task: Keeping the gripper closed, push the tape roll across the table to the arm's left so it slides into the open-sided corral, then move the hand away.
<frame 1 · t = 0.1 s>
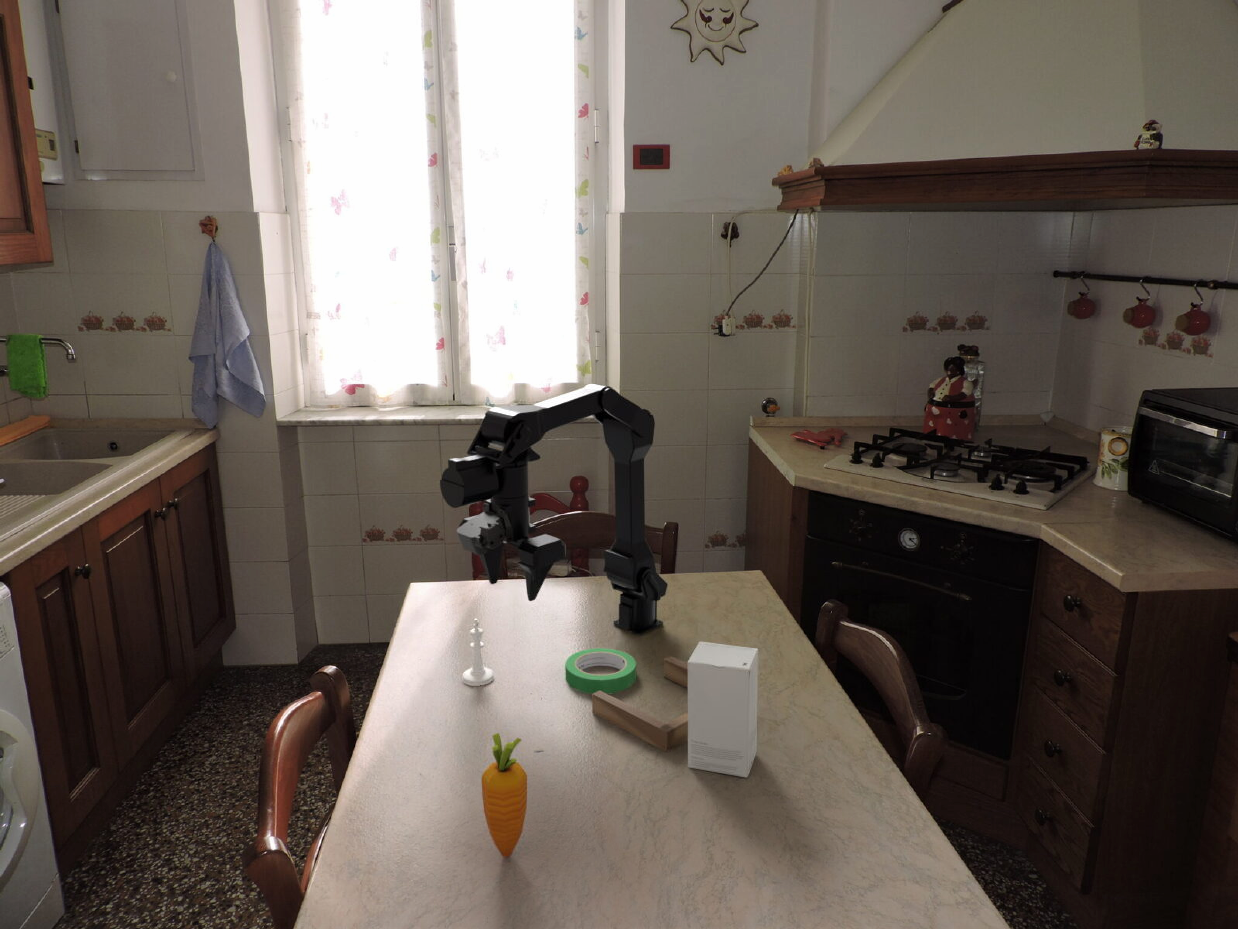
hand: (512, 591, 140), 14 cm above the table, tool pointing down, fingers open, 9 cm apart
carrot: (506, 858, 103), on the table
chess piece: (478, 679, 143), on the table
skincare box: (720, 763, 122), on the table
tape roll: (600, 679, 144), on the table
corral: (664, 708, 135), on the table
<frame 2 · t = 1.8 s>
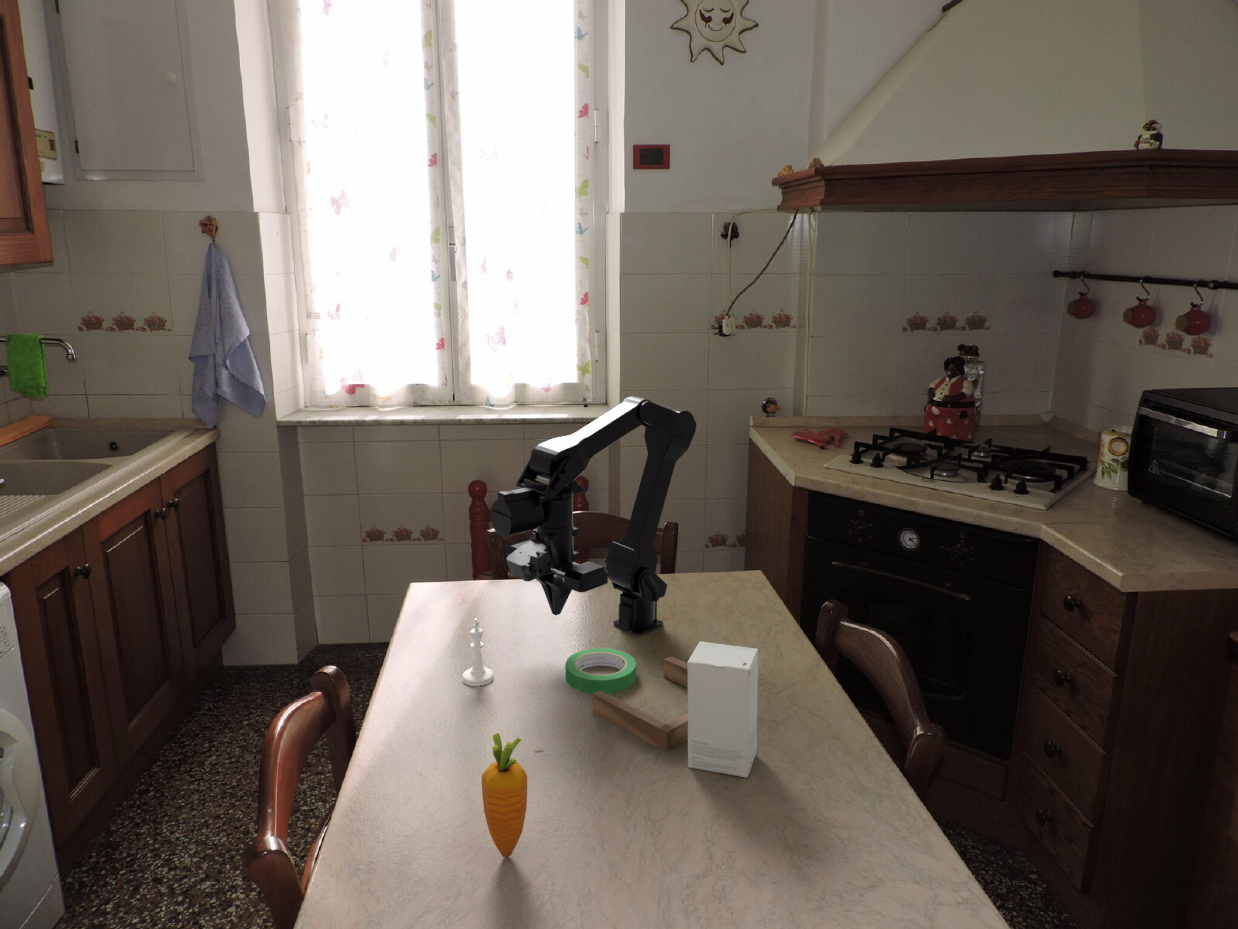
hand: (556, 614, 149), 7 cm above the table, tool pointing down, fingers closed
nothing on the table moved.
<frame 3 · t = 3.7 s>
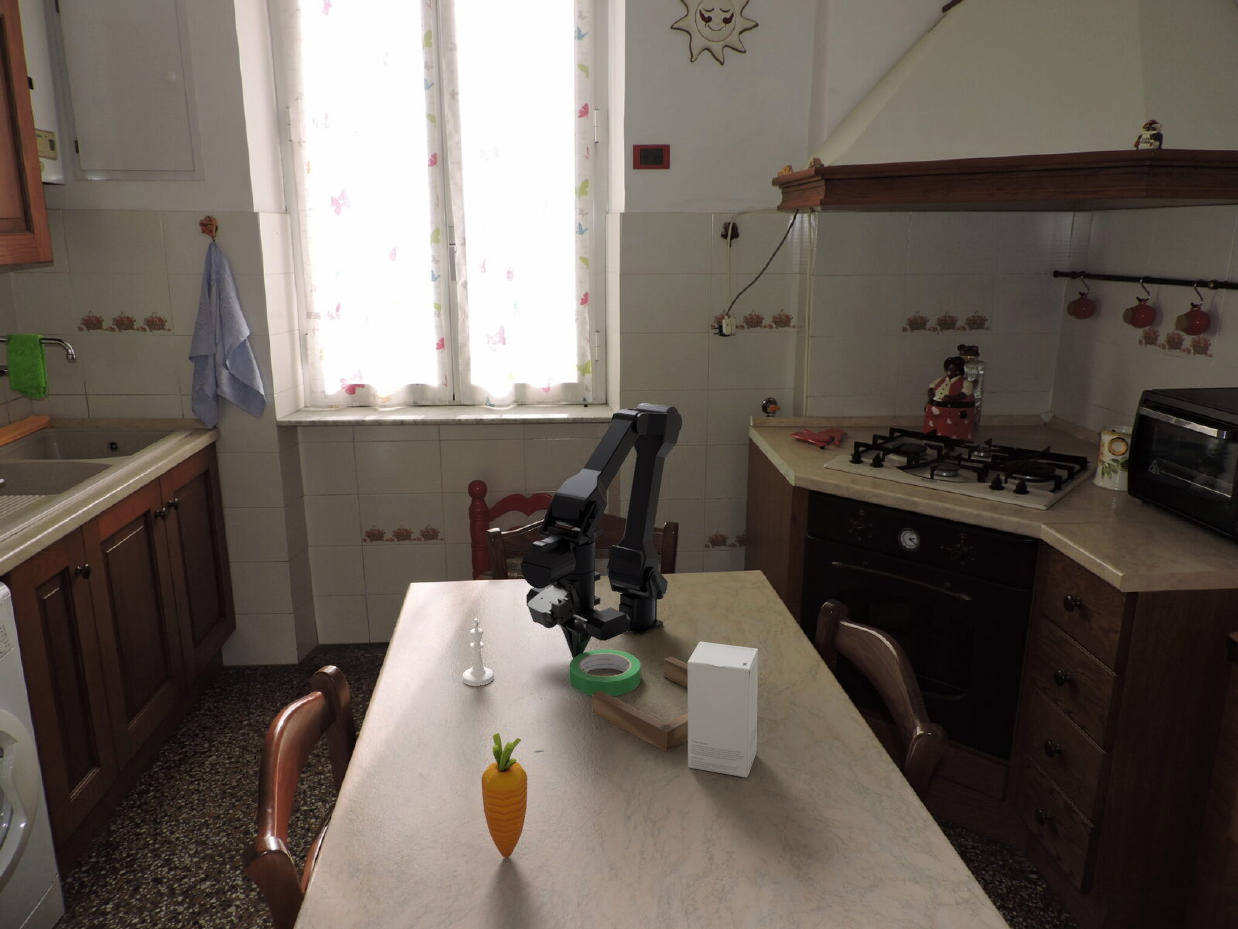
hand: (576, 659, 147), 1 cm above the table, tool pointing down, fingers closed
tape roll: (605, 681, 143), on the table, touching gripper
everything else where it was.
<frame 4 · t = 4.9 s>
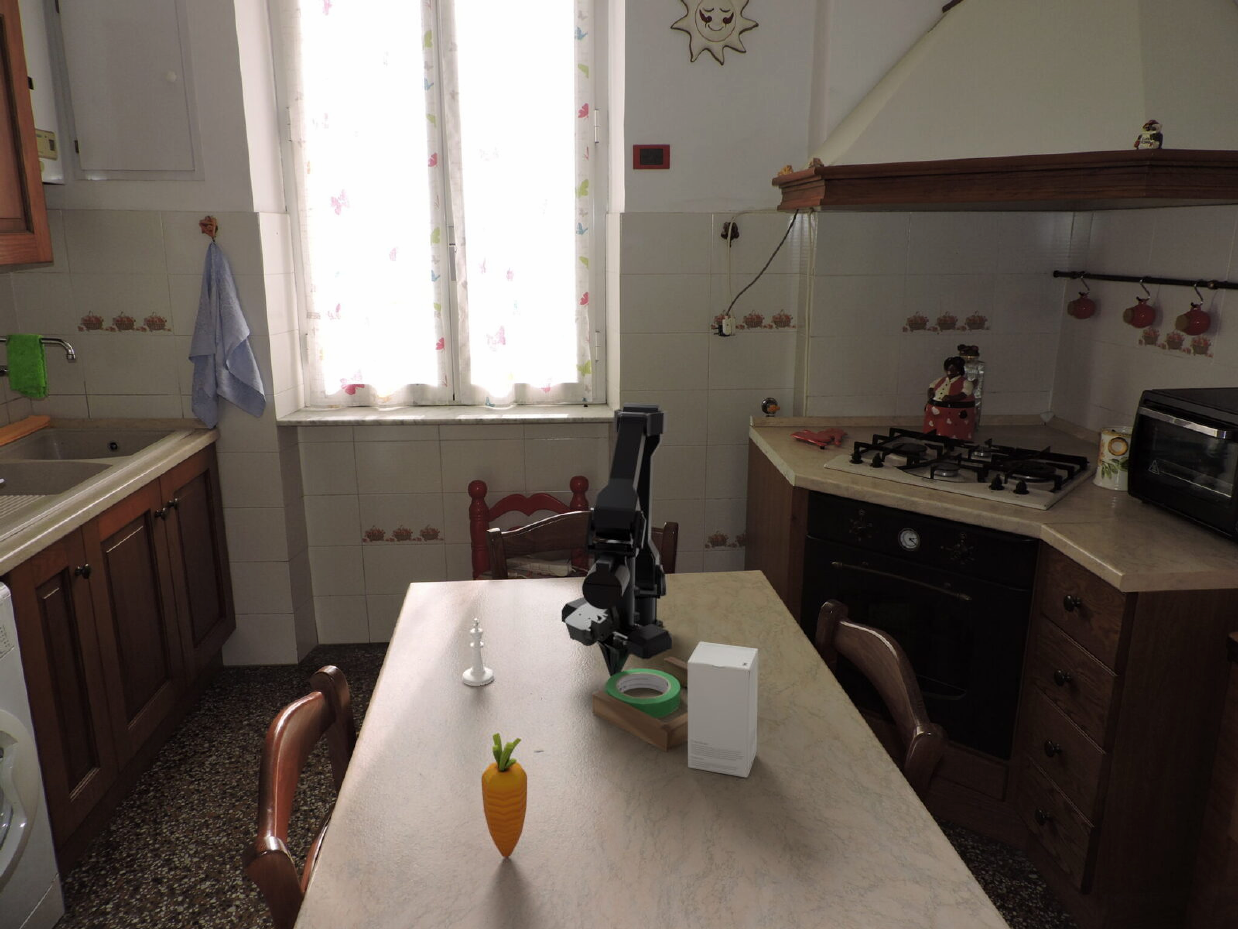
hand: (614, 677, 141), 1 cm above the table, tool pointing down, fingers closed
tape roll: (642, 702, 137), on the table, touching gripper
everything else where it was.
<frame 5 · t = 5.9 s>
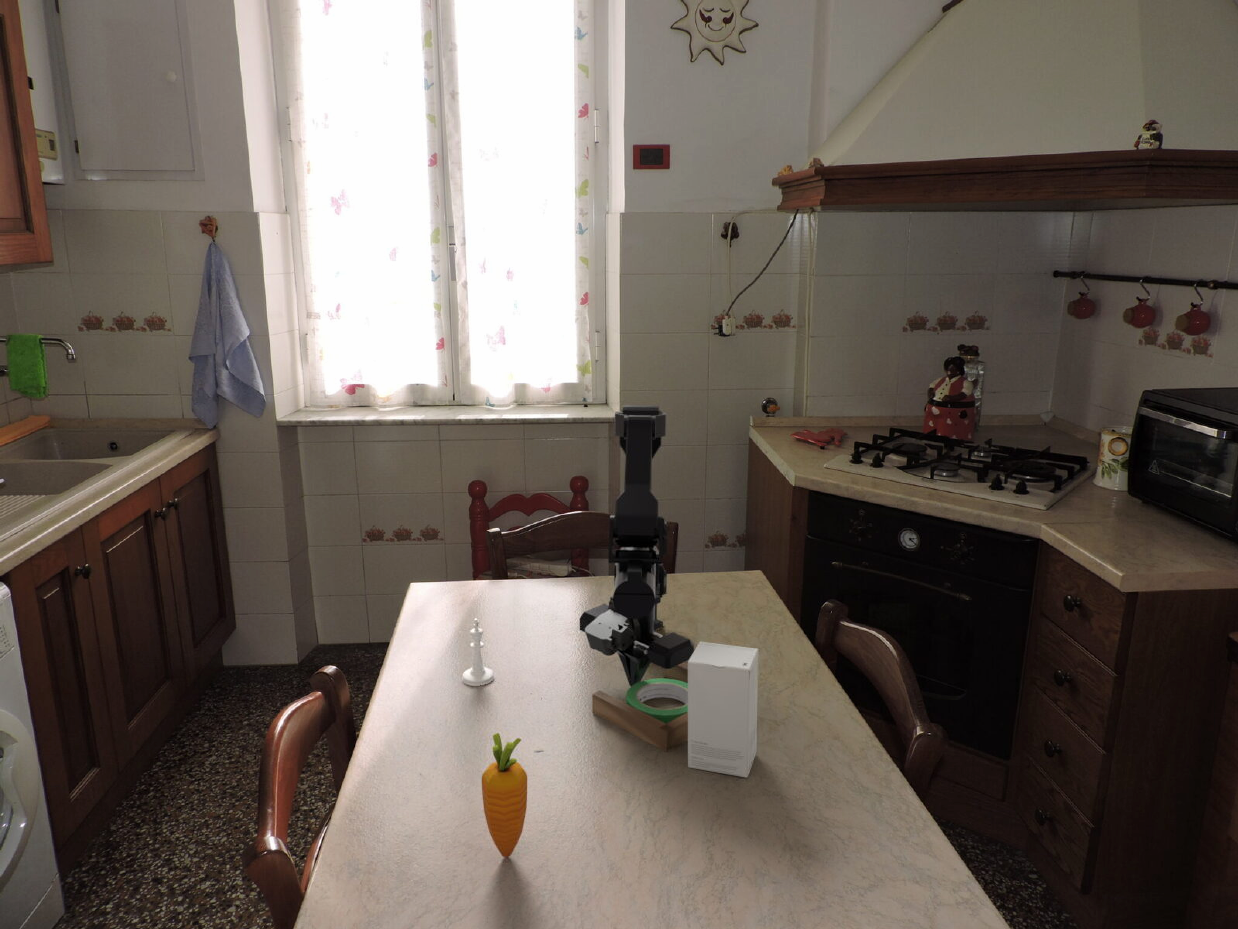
hand: (634, 686, 139), 1 cm above the table, tool pointing down, fingers closed
tape roll: (663, 713, 134), on the table, touching gripper
everything else where it was.
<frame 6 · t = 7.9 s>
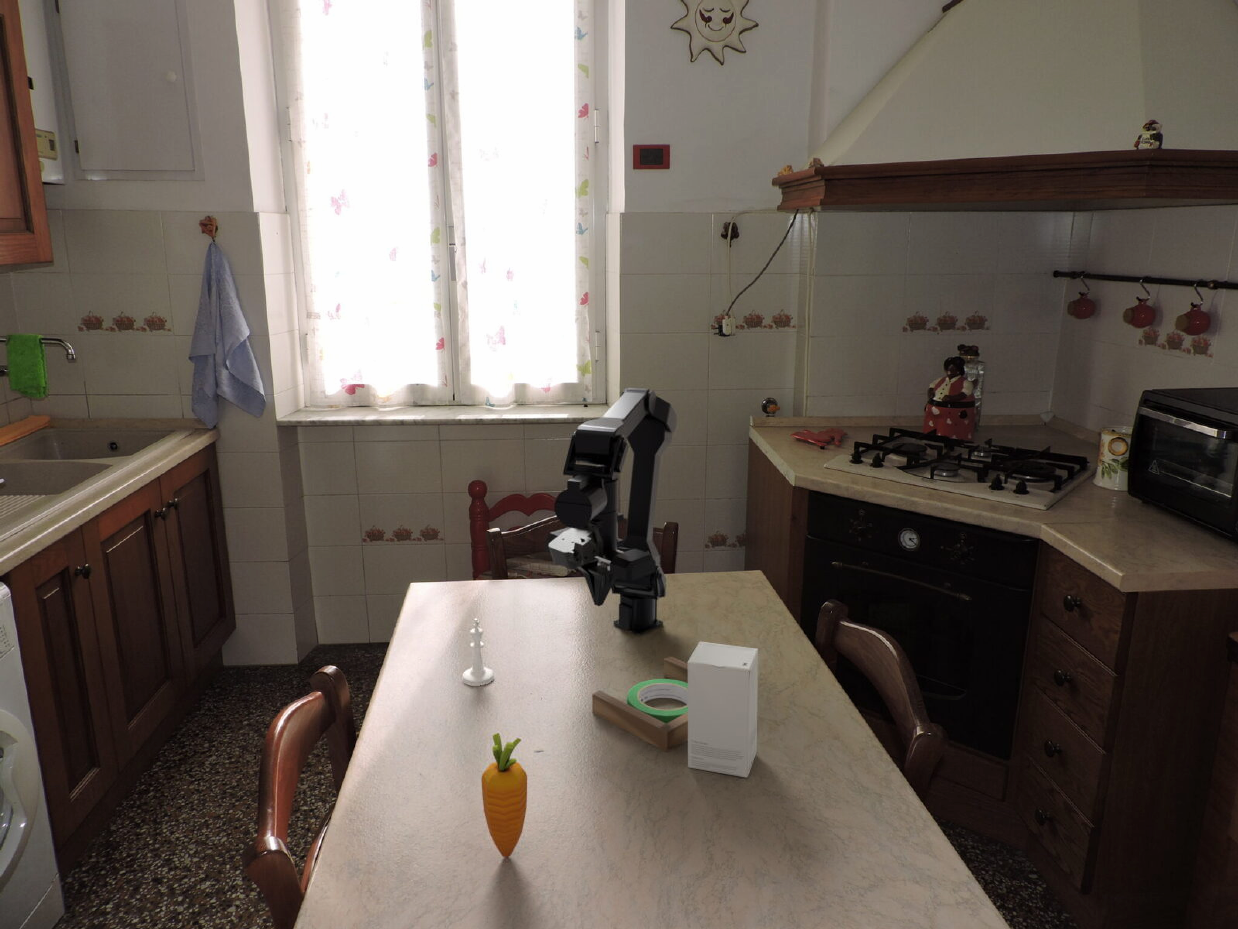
hand: (598, 605, 141), 12 cm above the table, tool pointing down, fingers closed
tape roll: (664, 713, 134), on the table
everything else where it was.
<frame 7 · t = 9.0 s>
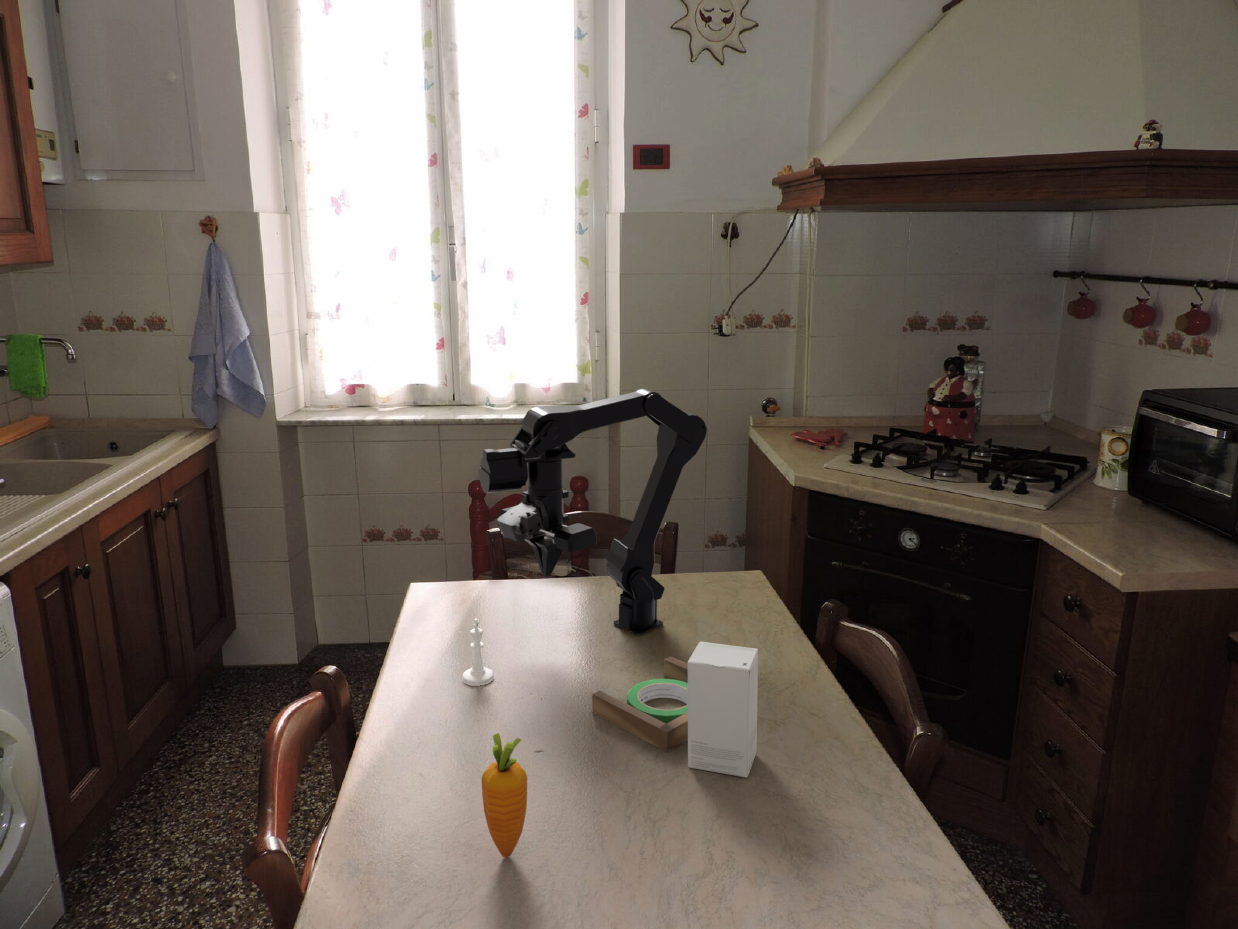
hand: (546, 576, 152), 12 cm above the table, tool pointing down, fingers closed
nothing on the table moved.
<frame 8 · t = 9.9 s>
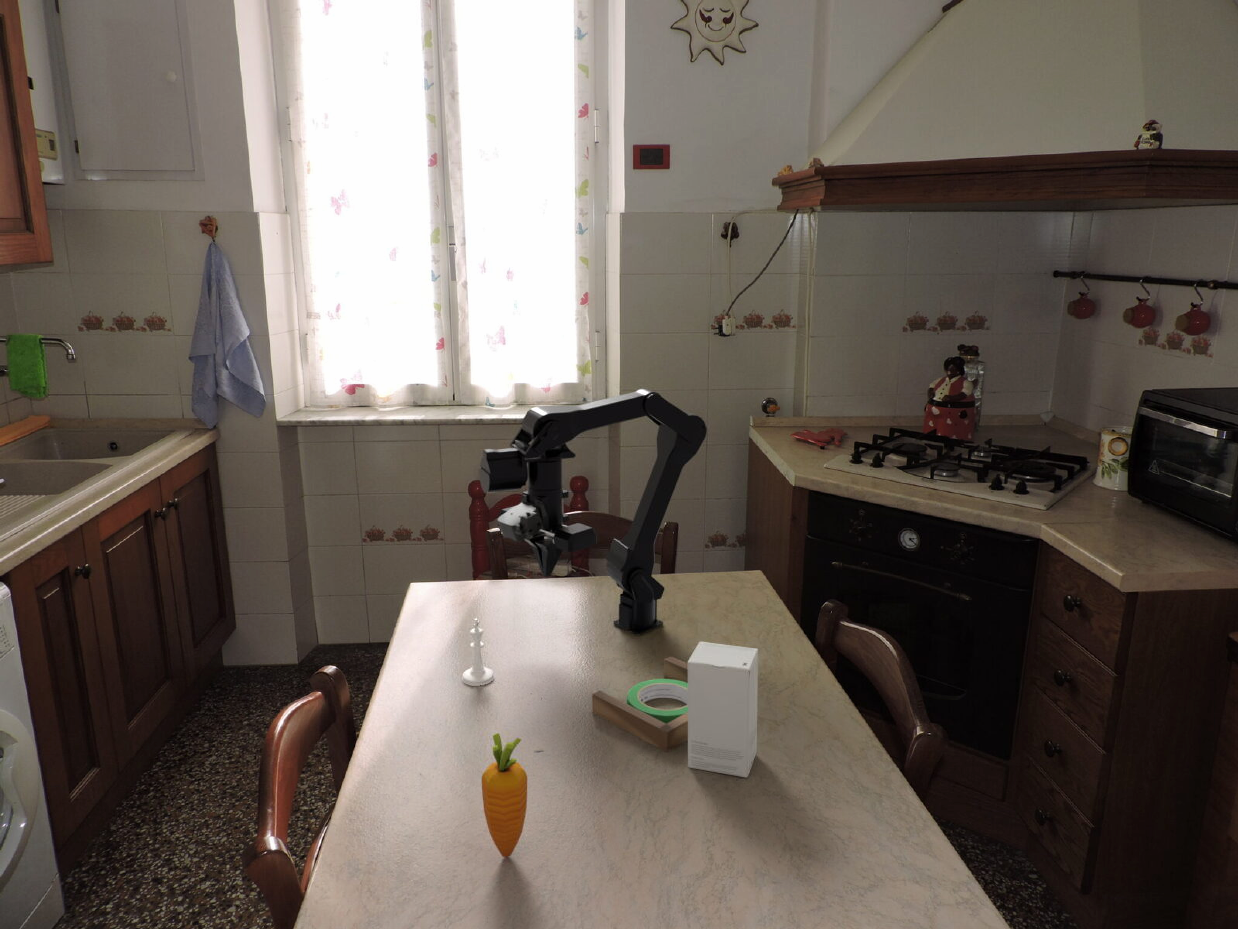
hand: (546, 576, 152), 12 cm above the table, tool pointing down, fingers closed
nothing on the table moved.
at the end: tape roll inside the target area (0.5 cm from its centre), on the table; tape roll moved 14.0 cm from its start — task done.
